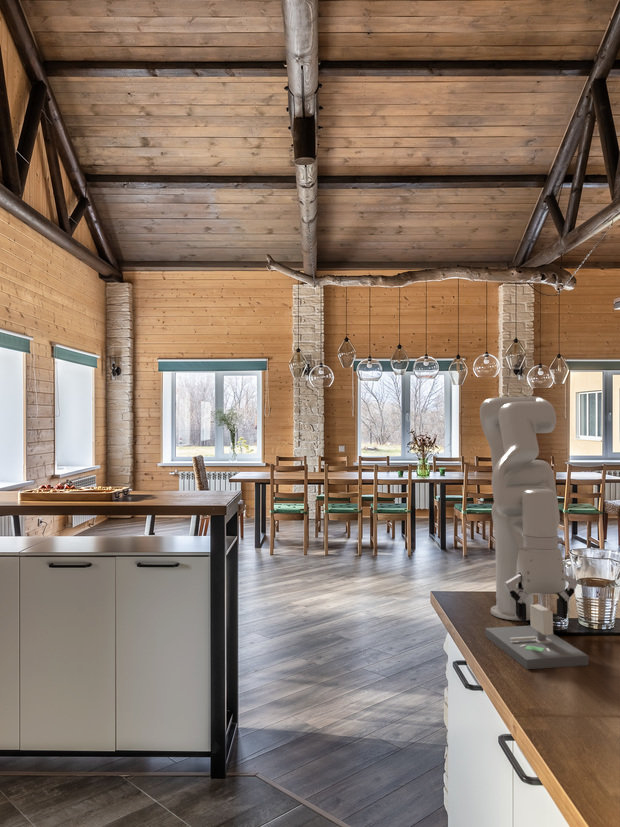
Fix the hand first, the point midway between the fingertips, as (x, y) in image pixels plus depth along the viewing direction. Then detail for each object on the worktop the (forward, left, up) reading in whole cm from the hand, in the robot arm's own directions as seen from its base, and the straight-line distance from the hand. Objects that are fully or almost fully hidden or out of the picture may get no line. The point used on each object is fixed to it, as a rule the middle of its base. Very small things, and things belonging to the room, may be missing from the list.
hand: (541, 618), depth 152 cm
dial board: (-1, -2, -7) cm, 7 cm away
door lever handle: (-1, -3, -5) cm, 6 cm away
